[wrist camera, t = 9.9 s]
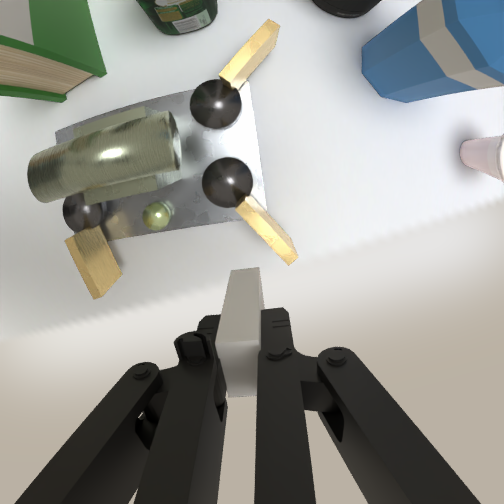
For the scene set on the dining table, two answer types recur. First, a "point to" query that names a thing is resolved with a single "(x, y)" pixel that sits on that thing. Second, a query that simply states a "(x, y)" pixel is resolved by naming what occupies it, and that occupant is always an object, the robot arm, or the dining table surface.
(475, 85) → the water bottle
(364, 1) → the black smart speaker
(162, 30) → the coffee jar
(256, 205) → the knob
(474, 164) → the smoothie
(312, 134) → the dining table surface
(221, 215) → the base
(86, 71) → the hardback book
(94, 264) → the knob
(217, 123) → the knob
